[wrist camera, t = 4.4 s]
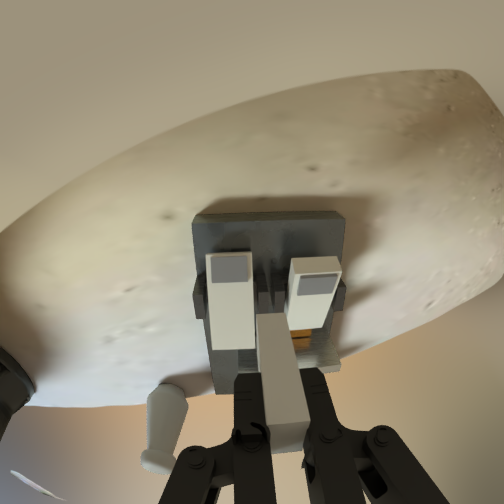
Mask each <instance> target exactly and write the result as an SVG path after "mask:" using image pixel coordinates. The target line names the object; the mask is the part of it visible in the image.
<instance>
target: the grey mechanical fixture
mask: <svg viewBox="0 0 504 504" xmlns="http://www.w3.org/2000/svg"><path fill="white" fill-rule="evenodd" d="M344 229H345V218H343V217H342V216H341V215H340V214H339V213H338V212H336V211H299V212H257V213H229V214H207V215H195V217H194V220H193V222H192V234H193V244H194V253H195V262H196V270H197V278H196V282H195V286H194V291H193V302H194V308H195V315H196V319H203V322H204V329H205V336H206V342H207V348H208V354H209V360H210V366H211V372H212V377H213V383H214V388H215V393H216V395H217V394H234V381H235V379H236V377H237V375H238V373H259V370H258V359H257V332H256V314H269V313H284V305H285V299H286V292H287V286H288V279H289V272H290V265H291V258H304V257H326V256H337V258H338V261H339V263H340V265H341V257H342V248H343V239H344ZM248 251H251V252H252V271H253V299H254V326H255V349H232V350H212V341H211V330H210V317H209V304H208V289H207V272H206V254H207V253H223V252H248ZM345 293H346V285H345V284H344V282H343V281H342V279H341V278H340V280H339V283H338V285H337V288H336V291H335V294H334V297H333V299H332V302H331V305H330V308H329V310H328V313H327V316H326V318H325V321H324V323H323V326H322V328H313V329H302V330H290V334H291V338H292V342H293V347H294V351H295V355H296V359H297V363H298V368H299V369H302V368H311V367H317V368H318V369H319V370H320V371H321V372H322V373H323V374H324V373H331V372H337V371H340V368H341V362H340V359H339V357H338V355H337V352H336V350H335V347H334V345H333V342H332V340H331V338H330V335H329V334H330V329H331V323H332V318H333V312H334V311H342V310H343V305H344V299H345Z"/></svg>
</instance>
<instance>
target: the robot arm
mask: <svg viewBox="0 0 504 504" xmlns="http://www.w3.org/2000/svg"><path fill="white" fill-rule="evenodd" d="M256 332H257V359H258V370H259V373H238V375H237V377H236V379H235V381H234V428H233V430H232V435H231V436H232V437H231V438H230V439H229V440H228V441H227V442H225V443H223V444H221V445H218V446H215V447H211V448H205V447H202V446H190V447H187V448H186V449H184V450H182V452H181V453H180V454H179V456H178V459H177V461H176V463H175V465H174V468H173V470H172V472H171V475H170V477H169V480H168V482H167V484H166V487H165V489H164V492H163V494H162V496H161V499H160V501H159V503H158V504H216V503H217V500H218V497H219V493H220V490H221V487H224V486H227V485H231V484H234V504H277V502H276V493H275V484H274V475H273V465H272V456H271V454H277V453H287V452H296V451H302V449H304V454H305V456H304V459H303V462H302V468H305V474H306V479H307V486H308V491H309V498H310V503H311V504H366V501H365V497H364V494H363V491H364V492H365V494H366V495H367V497H368V499H369V501H370V502H371V504H450V503H449V502H448V501H447V499H446V498H445V497H444V495H443V494H442V493H441V491H440V490H439V488H438V487H437V486H436V485H435V483H434V482H433V481H432V479H431V478H430V476H429V475H428V474H427V472H426V471H425V470H424V469H423V467H422V466H421V464H420V463H419V462H418V460H417V459H416V458H415V456H414V455H413V454H412V452H411V451H410V450H409V448H408V447H407V446H406V445H405V443H404V442H403V440H402V439H401V438H400V437H399V435H398V434H397V432H396V431H395V430H394V429H392V428H391V427H389V426H386V425H380V426H376V427H374V428H372V429H371V430H370V431H356V430H350V429H348V428H345V427H344V426H343V425H341V423H340V422H339V421H338V419H337V416H336V413H335V409H334V406H333V403H332V399H331V396H330V393H329V389H328V386H327V383H326V380H325V377H324V374H323V373H322V372H321V371H320V370H319V369H318V368H317V367H311V368H302V369H299V368H298V363H297V359H296V355H295V351H294V347H293V342H292V338H291V334H290V330H289V326H288V322H287V317H286V313H269V314H256ZM33 393H34V387H33V385H32V382H31V381H30V379H29V377H28V376H27V374H26V373H25V372H24V370H23V369H22V368H21V367H20V366H19V364H18V363H17V362H16V361H15V360H14V359H13V358H12V357H11V356H10V355H9V354H8V353H7V352H5V351H4V350H3V349H2V348H0V441H1V439H2V436H3V434H4V432H5V430H6V427H7V425H8V423H9V421H10V419H11V417H12V415H13V414H14V413H16V412H17V411H18V410H19V409H20V408H21V407H23V406H24V405H25V404H26V403H28V402H29V401H30V399H31V397H32V395H33ZM362 489H363V490H362Z"/></svg>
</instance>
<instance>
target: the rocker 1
mask: <svg viewBox="0 0 504 504" xmlns="http://www.w3.org/2000/svg"><path fill="white" fill-rule="evenodd" d="M206 272H207V289H208V304H209V317H210V330H211V341H212V350H232V349H255V326H254V299H253V271H252V252H251V251H248V252H223V253H207V254H206Z"/></svg>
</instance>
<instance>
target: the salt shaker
mask: <svg viewBox="0 0 504 504" xmlns="http://www.w3.org/2000/svg"><path fill="white" fill-rule="evenodd" d="M187 410H188V403H187V401H186V399H185V396H184V393H183V390H182V389H180V388H178V387H177V386H175V385H173V384H159V385H158V387H157V388H156V389H155V390H154V391H153V392H152V393H150V394H149V396H148V398H147V450H144V451H143V452H142V454H141V465H142V466H143V467H144V468H145V469H146V470H148V471H150V472H154V473H158V474H171V472H172V470H173V468H174V465H175V463H176V458H175V457H174V456H173V452H174V449H175V446H176V443H177V440H178V437H179V435H180V432H181V429H182V425H183V423H184V420H185V417H186V414H187Z"/></svg>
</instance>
